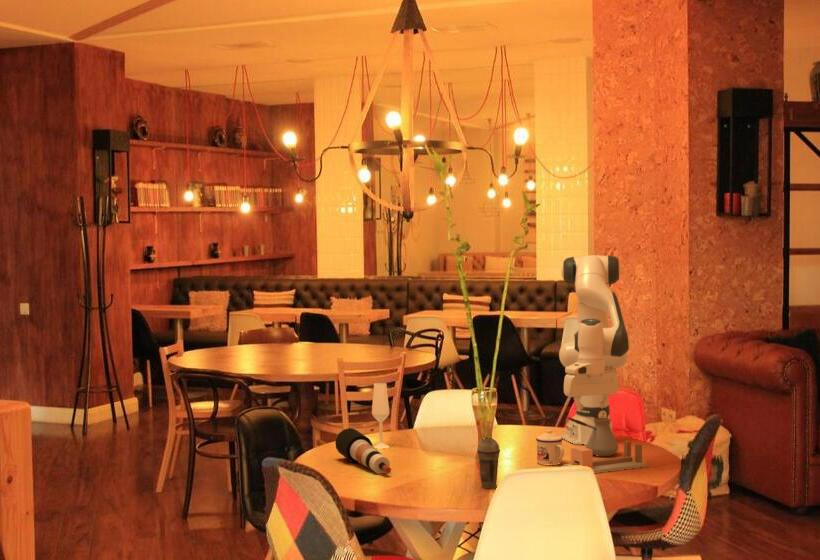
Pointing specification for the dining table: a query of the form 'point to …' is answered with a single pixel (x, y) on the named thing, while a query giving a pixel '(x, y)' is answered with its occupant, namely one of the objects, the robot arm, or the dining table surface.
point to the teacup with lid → (549, 448)
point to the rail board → (619, 460)
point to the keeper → (582, 456)
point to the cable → (361, 451)
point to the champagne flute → (380, 409)
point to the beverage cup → (488, 461)
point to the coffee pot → (600, 437)
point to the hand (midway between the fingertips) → (591, 408)
